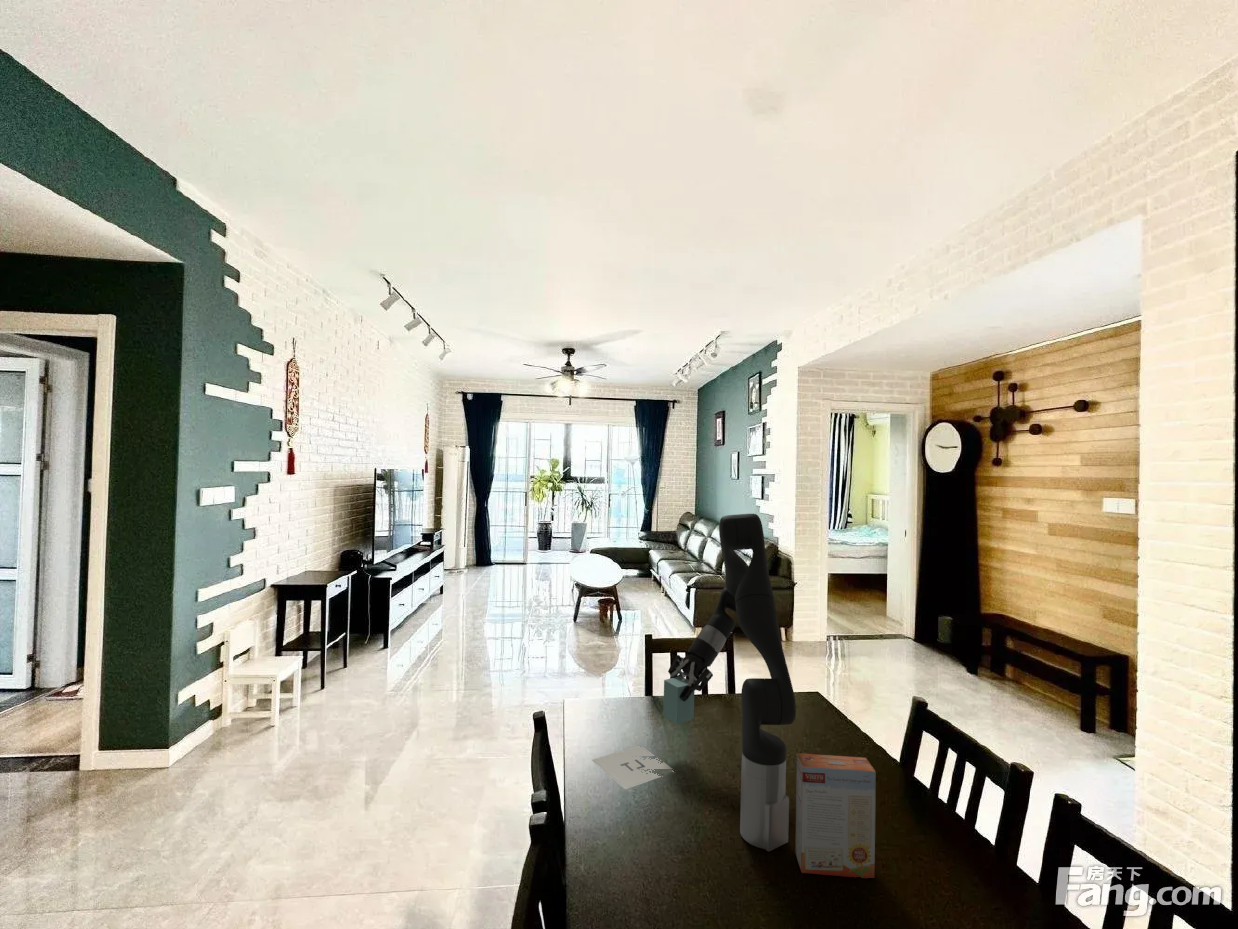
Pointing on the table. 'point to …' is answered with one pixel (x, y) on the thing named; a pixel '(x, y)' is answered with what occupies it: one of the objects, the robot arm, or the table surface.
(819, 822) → the cracker box
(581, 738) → the table surface
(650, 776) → the card
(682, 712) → the teal block
